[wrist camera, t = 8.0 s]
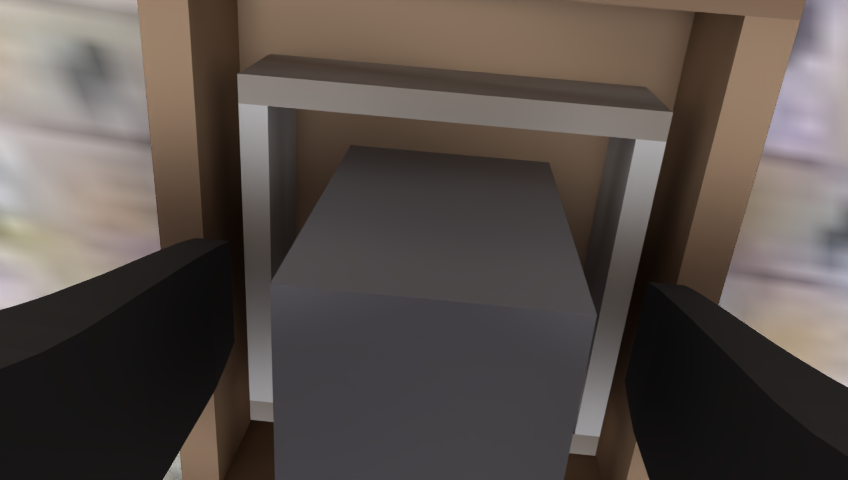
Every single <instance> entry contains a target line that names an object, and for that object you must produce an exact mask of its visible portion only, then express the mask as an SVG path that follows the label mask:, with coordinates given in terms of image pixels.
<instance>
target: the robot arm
mask: <svg viewBox="0 0 848 480" xmlns="http://www.w3.org/2000/svg"><path fill="white" fill-rule="evenodd" d="M234 342H235V337H234V316H233V295H232V274H231V253H230V241H222V240H211V239H201V238H193V239H189V240H186V241H183V242H180V243H177V244H174V245H172V246H169V247H167V248H164V249H162V250H159V251H157V252H155V253H152V254H150V255H147V256H145V257H143V258H140V259H138V260H136V261H133V262H131V263H128V264H126V265H124V266H121V267H119V268H117V269H114V270H112V271H110V272H107V273H105V274H102V275H100V276H97V277H94V278H92V279H89V280H87V281H84V282H81V283H79V284H76V285H73V286H71V287H68V288H66V289H63V290H60V291H58V292H55V293H52V294H50V295H47V296H44V297H41V298H38V299H35V300H32V301H29V302H26V303H23V304H19V305H16V306H13V307H9V308H6V309H2V310H0V480H163V478H164V477H165V475H166V473H167V472H168V470H169V468H170V466H171V465H172V463H173V461H174V460H175V458H176V456H177V455H178V453H179V451H180V450H181V448H182V446H183V445H184V443H185V441H186V439H187V438H188V436H189V434H190V433H191V431H192V429H193V428H194V426H195V424H196V423H197V421H198V419H199V417H200V416H201V414H202V412H203V410H204V409H205V407H206V405H207V404H208V402H209V400H210V398H211V397H212V395H213V393H214V391H215V389H216V388H217V385H218V383H219V380H220V378H221V376H222V373H223V371H224V369H225V366H226V363H227V361H228V358H229V356H230V353H231V350H232V348H233V345H234ZM625 387H626V393H627V400H628V406H629V411H630V417H631V422H632V427H633V432H634V435H635V438H636V441H637V444H638V447H639V450H640V453H641V456H642V459H643V462H644V465H645V468H646V472H647V474H648V477H649V480H848V387H846V386H844V385H842V384H840V383H839V382H837V381H835V380H833V379H832V378H830V377H828V376H826V375H825V374H823V373H821V372H820V371H818V370H816V369H815V368H813V367H811V366H810V365H808V364H806V363H805V362H803V361H801V360H800V359H798V358H796V357H795V356H793V355H792V354H790V353H789V352H787V351H785V350H784V349H782V348H781V347H779V346H778V345H776V344H775V343H773V342H772V341H770V340H769V339H767V338H766V337H764V336H763V335H761V334H760V333H758V332H757V331H755V330H754V329H752V328H751V327H749V326H748V325H746V324H745V323H743V322H742V321H740V320H739V319H738V318H736V317H735V316H733V315H732V314H730V313H729V312H727V311H726V310H724V309H723V308H721V307H720V306H718V305H717V304H716V303H714V302H712V301H711V300H709V299H708V298H706V297H705V296H703V295H702V294H700V293H698V292H697V291H695V290H693V289H691V288H689V287H687V286H685V285H677V284H666V283H656V282H648V284H647V288H646V293H645V297H644V301H643V305H642V310H641V314H640V318H639V322H638V327H637V331H636V335H635V339H634V344H633V348H632V352H631V356H630V360H629V365H628V369H627V373H626V377H625Z"/></svg>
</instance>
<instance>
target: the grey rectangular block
mask: <svg viewBox="0 0 848 480" xmlns="http://www.w3.org/2000/svg"><path fill="white" fill-rule="evenodd" d="M270 311H271V348H272V386H273V423H274V460H275V480H564V477H565V472H566V467H567V462H568V457H569V452H570V447H571V442H572V437H573V432H574V427H575V422H576V417H577V412H578V407H579V402H580V397H581V392H582V387H583V382H584V377H585V372H586V367H587V362H588V357H589V352H590V347H591V342H592V337H593V332H594V327H595V322H596V317H597V314H596V311H595V307H594V304H593V301H592V298H591V295H590V291H589V288H588V285H587V282H586V279H585V276H584V272H583V269H582V266H581V263H580V260H579V256H578V253H577V250H576V247H575V244H574V240H573V237H572V234H571V231H570V228H569V225H568V221H567V218H566V215H565V212H564V209H563V205H562V202H561V199H560V196H559V193H558V190H557V186H556V183H555V180H554V177H553V174H552V170H551V167H550V164H549V162H538V161H527V160H515V159H504V158H493V157H481V156H470V155H458V154H447V153H435V152H424V151H412V150H401V149H390V148H378V147H367V146H355V145H350V147H349V149H348V151H347V152H346V154H345V156H344V157H343V159H342V161H341V163H340V164H339V166H338V168H337V169H336V171H335V173H334V175H333V176H332V178H331V180H330V181H329V183H328V185H327V187H326V188H325V190H324V192H323V194H322V195H321V197H320V199H319V200H318V202H317V204H316V206H315V207H314V209H313V211H312V212H311V214H310V216H309V218H308V219H307V221H306V223H305V224H304V226H303V228H302V230H301V231H300V233H299V235H298V236H297V238H296V240H295V242H294V243H293V245H292V247H291V249H290V250H289V252H288V254H287V255H286V257H285V259H284V261H283V262H282V264H281V266H280V267H279V269H278V271H277V273H276V274H275V276H274V278H273V279H272V281H271V283H270Z"/></svg>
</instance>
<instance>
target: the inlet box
mask: <svg viewBox="0 0 848 480" xmlns="http://www.w3.org/2000/svg"><path fill="white" fill-rule="evenodd" d="M137 1H138V11H139V22H140V33H141V43H142V54H143V65H144V75H145V86H146V97H147V107H148V118H149V128H150V139H151V150H152V160H153V171H154V182H155V192H156V203H157V214H158V224H159V235H160V245H161V250H162V249H164V248H167V247H169V246H172V245H174V244H177V243H180V242H183V241H186V240H189V239H193V238H201V239H211V240H222V241H230V253H231V274H232V295H233V316H234V337H235V342H234V345H233V348H232V350H231V353H230V356H229V358H228V361H227V363H226V366H225V369H224V371H223V373H222V376H221V378H220V380H219V383H218V385H217V388H216V389H215V391H214V393H213V395H212V397H211V398H210V400H209V402H208V404H207V405H206V407H205V409H204V410H203V412H202V414H201V416H200V417H199V419H198V421H197V423H196V424H195V426H194V428H193V429H192V431H191V433H190V434H189V436H188V438H187V439H186V441H185V443H184V445H183V446H182V448H181V450H180V458H181V469H182V479H183V480H275V460H274V423H273V386H272V348H271V311H270V283H271V281H272V279H273V278H274V276H275V274H276V273H277V271H278V269H279V267H280V266H281V264H282V262H283V261H284V259H285V257H286V255H287V254H288V252H289V250H290V249H291V247H292V245H293V243H294V242H295V240H296V238H297V236H298V235H299V233H300V231H301V230H302V228H303V226H304V224H305V223H306V221H307V219H308V218H309V216H310V214H311V212H312V211H313V209H314V207H315V206H316V204H317V202H318V200H319V199H320V197H321V195H322V194H323V192H324V190H325V188H326V187H327V185H328V183H329V181H330V180H331V178H332V176H333V175H334V173H335V171H336V169H337V168H338V166H339V164H340V163H341V161H342V159H343V157H344V156H345V154H346V152H347V151H348V149H349V147H350V145H355V146H367V147H378V148H390V149H401V150H412V151H424V152H435V153H447V154H458V155H470V156H481V157H493V158H504V159H515V160H527V161H538V162H549V164H550V167H551V170H552V174H553V177H554V180H555V183H556V186H557V190H558V193H559V196H560V199H561V202H562V205H563V209H564V212H565V215H566V218H567V221H568V225H569V228H570V231H571V234H572V237H573V240H574V244H575V247H576V250H577V253H578V256H579V260H580V263H581V266H582V269H583V272H584V276H585V279H586V282H587V285H588V288H589V291H590V295H591V298H592V301H593V304H594V307H595V311H596V314H597V317H596V322H595V327H594V332H593V337H592V342H591V347H590V352H589V357H588V362H587V367H586V372H585V377H584V382H583V387H582V392H581V397H580V402H579V407H578V412H577V417H576V422H575V427H574V432H573V437H572V442H571V447H570V452H569V457H568V462H567V467H566V472H565V477H564V480H649V477H648V474H647V472H646V468H645V465H644V462H643V459H642V456H641V453H640V450H639V447H638V444H637V441H636V438H635V435H634V432H633V427H632V422H631V417H630V411H629V406H628V400H627V393H626V387H625V377H626V373H627V369H628V365H629V360H630V356H631V352H632V348H633V344H634V339H635V335H636V331H637V327H638V322H639V318H640V314H641V310H642V305H643V301H644V297H645V293H646V288H647V284H648V282H656V283H666V284H677V285H685V286H687V287H689V288H691V289H693V290H695V291H697V292H698V293H700V294H702V295H703V296H705V297H706V298H708V299H709V300H711V301H712V302H714V303H716V304H717V305H718V303H719V300H720V297H721V293H722V290H723V286H724V283H725V279H726V276H727V272H728V269H729V265H730V262H731V258H732V255H733V251H734V248H735V245H736V241H737V238H738V234H739V231H740V227H741V224H742V220H743V217H744V213H745V210H746V206H747V203H748V199H749V196H750V192H751V189H752V186H753V182H754V179H755V175H756V172H757V168H758V165H759V161H760V158H761V154H762V151H763V147H764V144H765V140H766V137H767V134H768V130H769V127H770V123H771V120H772V116H773V113H774V109H775V106H776V102H777V99H778V95H779V92H780V88H781V85H782V82H783V78H784V75H785V71H786V68H787V64H788V61H789V57H790V54H791V50H792V47H793V43H794V40H795V36H796V33H797V29H798V26H799V23H800V19H801V16H802V12H803V9H804V5H805V2H806V0H137Z"/></svg>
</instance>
